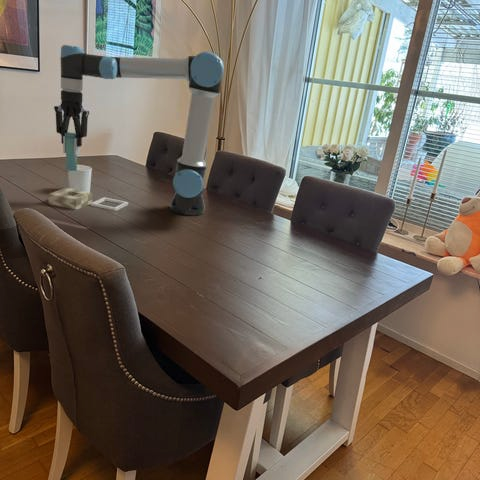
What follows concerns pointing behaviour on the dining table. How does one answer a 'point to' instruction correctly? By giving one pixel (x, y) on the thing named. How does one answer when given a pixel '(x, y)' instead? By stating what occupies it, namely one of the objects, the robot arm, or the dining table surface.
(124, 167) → the dining table surface
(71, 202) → the beige socket block
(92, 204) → the tray
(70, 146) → the plug
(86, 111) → the robot arm
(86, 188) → the candle holder
